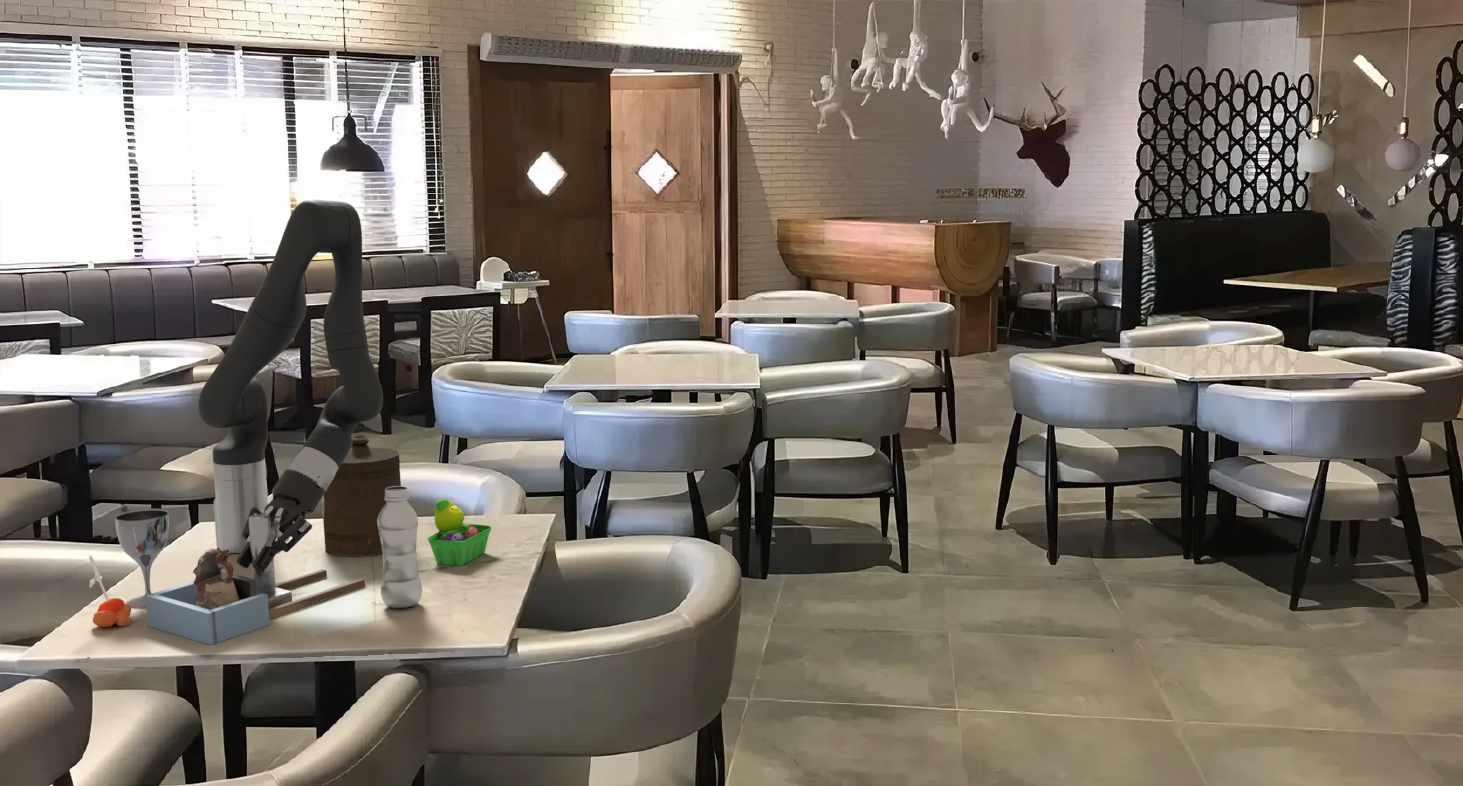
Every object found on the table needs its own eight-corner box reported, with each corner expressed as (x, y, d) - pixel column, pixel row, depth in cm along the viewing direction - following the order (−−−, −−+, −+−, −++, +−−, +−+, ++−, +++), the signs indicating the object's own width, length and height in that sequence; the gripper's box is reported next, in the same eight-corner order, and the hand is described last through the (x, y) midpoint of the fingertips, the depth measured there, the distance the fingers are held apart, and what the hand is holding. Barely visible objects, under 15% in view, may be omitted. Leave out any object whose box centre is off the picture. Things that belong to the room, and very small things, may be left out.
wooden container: (361, 532, 250) (355, 425, 247) (420, 540, 244) (415, 431, 240) (308, 551, 237) (301, 438, 233) (368, 561, 231) (363, 445, 227)
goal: (147, 625, 196) (145, 595, 195) (207, 607, 205) (205, 578, 204) (210, 645, 188) (207, 613, 187) (269, 624, 197) (267, 594, 196)
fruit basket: (463, 568, 226) (460, 508, 224) (420, 564, 229) (418, 504, 227) (494, 551, 236) (492, 494, 235) (453, 547, 239) (451, 490, 237)
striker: (224, 609, 203) (218, 521, 200) (267, 596, 209) (261, 510, 207) (251, 617, 199) (245, 527, 197) (294, 603, 206) (288, 515, 203)
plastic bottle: (412, 613, 202) (406, 494, 198) (374, 611, 203) (367, 492, 200) (429, 601, 208) (424, 485, 205) (392, 598, 209) (386, 483, 206)
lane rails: (214, 610, 203) (213, 603, 203) (323, 575, 222) (322, 569, 221) (257, 622, 198) (256, 615, 197) (365, 586, 216) (364, 579, 216)
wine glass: (140, 612, 203) (133, 523, 200) (112, 603, 207) (105, 516, 204) (184, 598, 209) (178, 512, 207) (156, 590, 213) (149, 506, 211)
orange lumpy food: (71, 635, 192) (65, 561, 190) (112, 615, 201) (106, 544, 200) (106, 638, 191) (100, 563, 189) (146, 617, 200) (140, 545, 198)
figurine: (208, 613, 202) (203, 542, 200) (249, 615, 201) (245, 543, 199) (184, 628, 195) (178, 555, 193) (226, 630, 194) (221, 556, 192)
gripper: (264, 463, 211) (206, 549, 203) (320, 472, 204) (261, 563, 195) (292, 487, 216) (236, 572, 208) (347, 497, 209) (292, 586, 201)
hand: (249, 567), depth 202 cm, fingers closed on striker, 3 cm apart
